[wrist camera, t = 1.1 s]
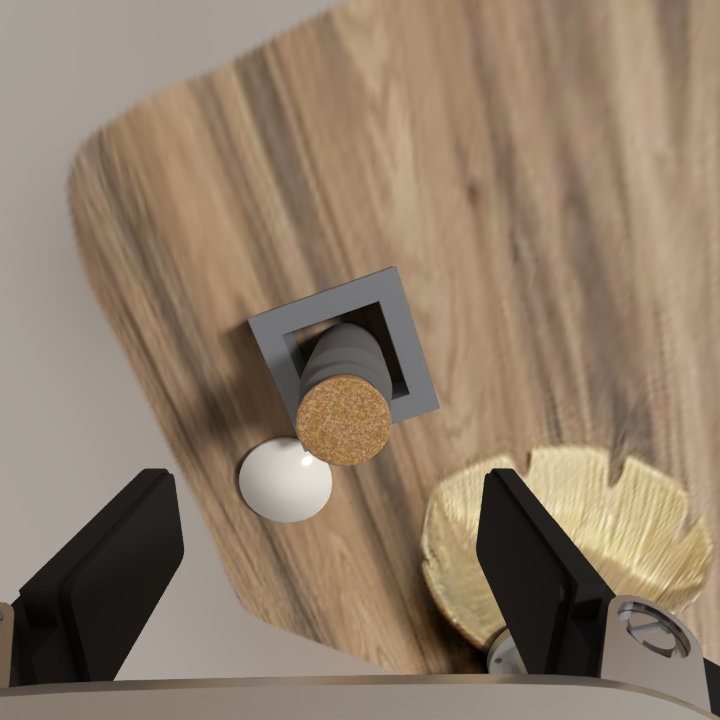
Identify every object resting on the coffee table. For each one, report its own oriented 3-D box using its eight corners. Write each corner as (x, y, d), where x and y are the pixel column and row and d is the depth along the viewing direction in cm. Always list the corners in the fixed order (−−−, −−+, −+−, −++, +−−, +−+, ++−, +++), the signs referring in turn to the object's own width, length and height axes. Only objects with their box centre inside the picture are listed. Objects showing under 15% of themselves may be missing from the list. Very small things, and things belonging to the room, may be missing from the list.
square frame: (429, 391, 33) (440, 408, 29) (310, 431, 33) (304, 452, 29) (390, 267, 30) (396, 266, 26) (261, 313, 30) (247, 319, 27)
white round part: (344, 501, 35) (344, 507, 34) (263, 527, 36) (261, 533, 35) (313, 425, 33) (312, 428, 32) (226, 453, 34) (223, 458, 33)
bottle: (359, 395, 32) (365, 494, 18) (304, 365, 32) (263, 444, 17) (392, 342, 31) (426, 403, 17) (335, 309, 30) (319, 344, 16)
